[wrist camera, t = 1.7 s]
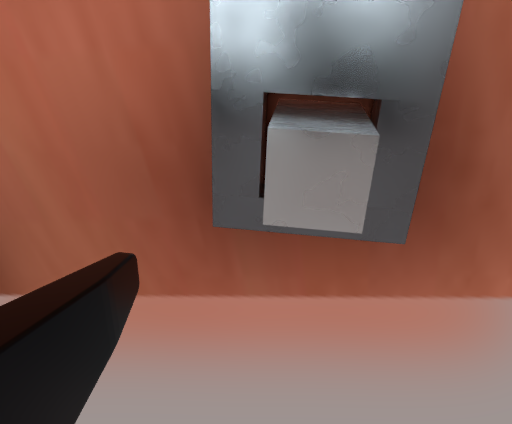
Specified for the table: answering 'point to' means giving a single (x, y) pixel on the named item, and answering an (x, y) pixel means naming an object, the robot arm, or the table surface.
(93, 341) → the robot arm
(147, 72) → the table surface
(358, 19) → the grey board with holes
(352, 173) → the grey metal block
